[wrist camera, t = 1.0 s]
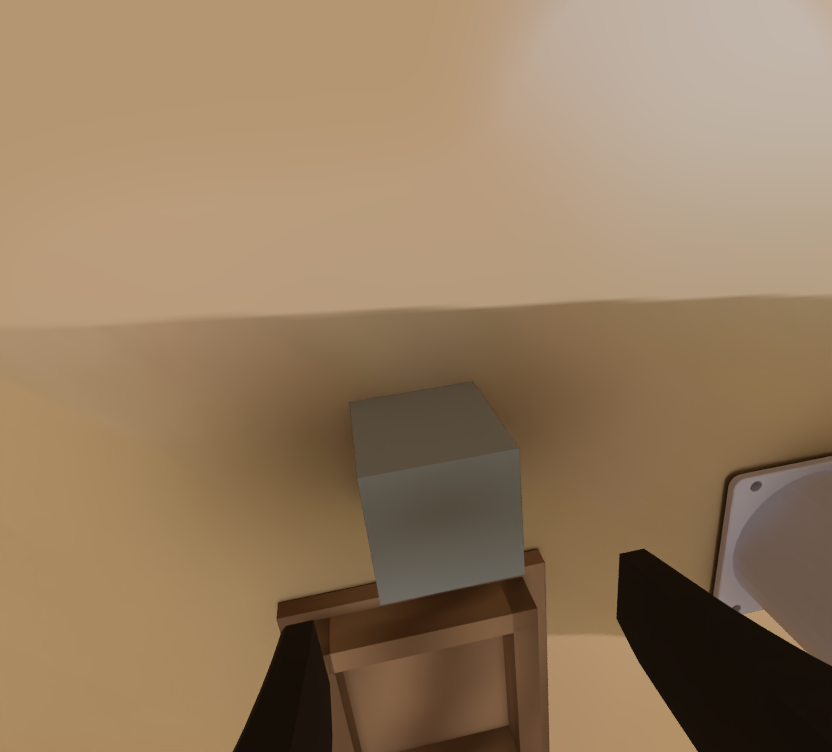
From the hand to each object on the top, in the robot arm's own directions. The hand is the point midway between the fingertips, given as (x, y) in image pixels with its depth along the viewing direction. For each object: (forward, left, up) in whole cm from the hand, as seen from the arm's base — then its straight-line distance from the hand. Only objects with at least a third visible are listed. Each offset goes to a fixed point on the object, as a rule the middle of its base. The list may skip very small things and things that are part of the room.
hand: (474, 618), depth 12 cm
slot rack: (+1, +16, -8) cm, 18 cm away
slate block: (0, 0, -8) cm, 8 cm away
